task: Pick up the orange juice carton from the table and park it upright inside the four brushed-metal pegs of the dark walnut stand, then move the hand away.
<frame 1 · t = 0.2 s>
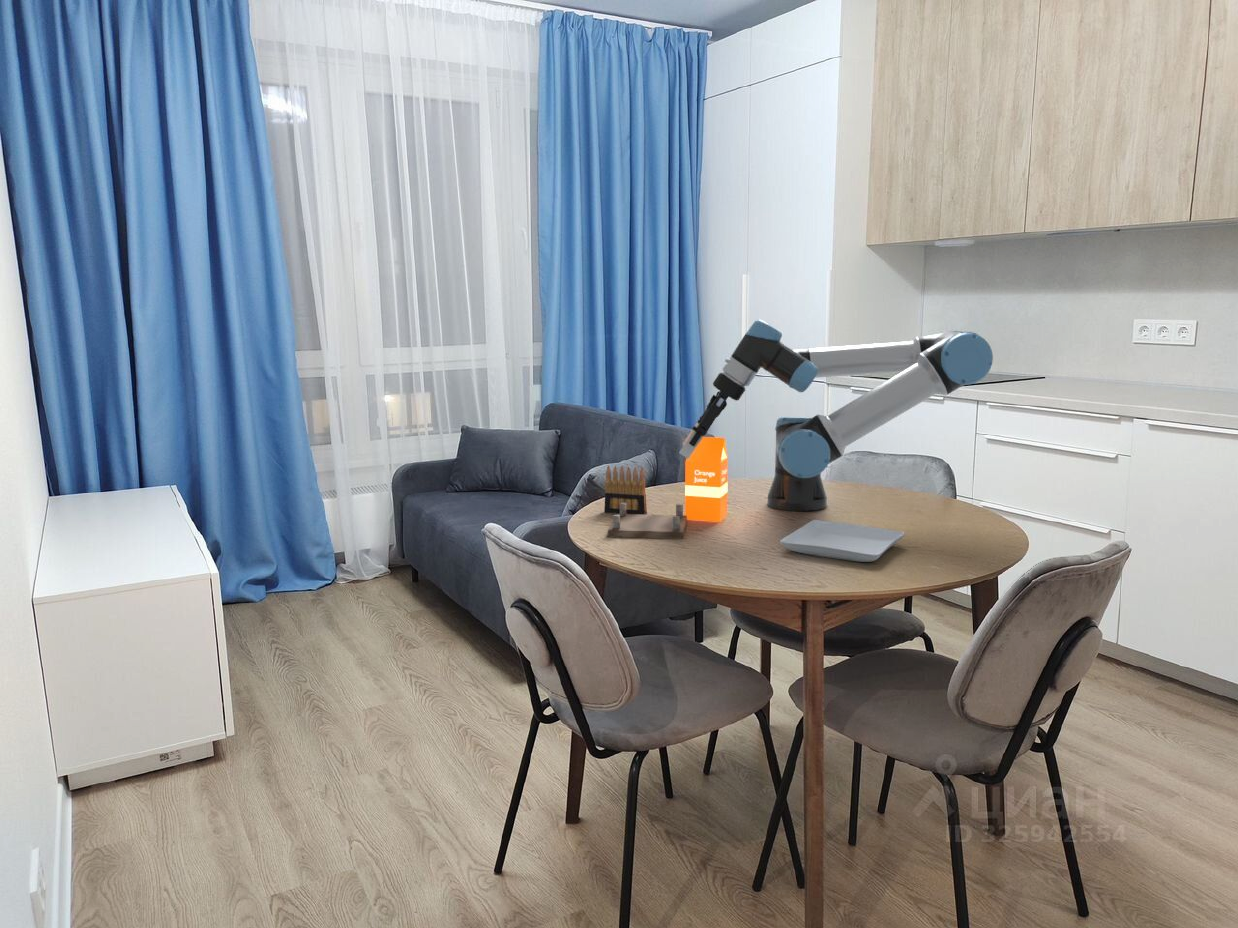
hand: (685, 451, 224), 16 cm above the table, tool tilted 35°, fingers open, 13 cm apart
ammunition clip: (625, 514, 229), on the table
peg stand: (648, 528, 213), on the table
salad plate: (842, 551, 195), on the table
orange juice: (706, 518, 224), on the table
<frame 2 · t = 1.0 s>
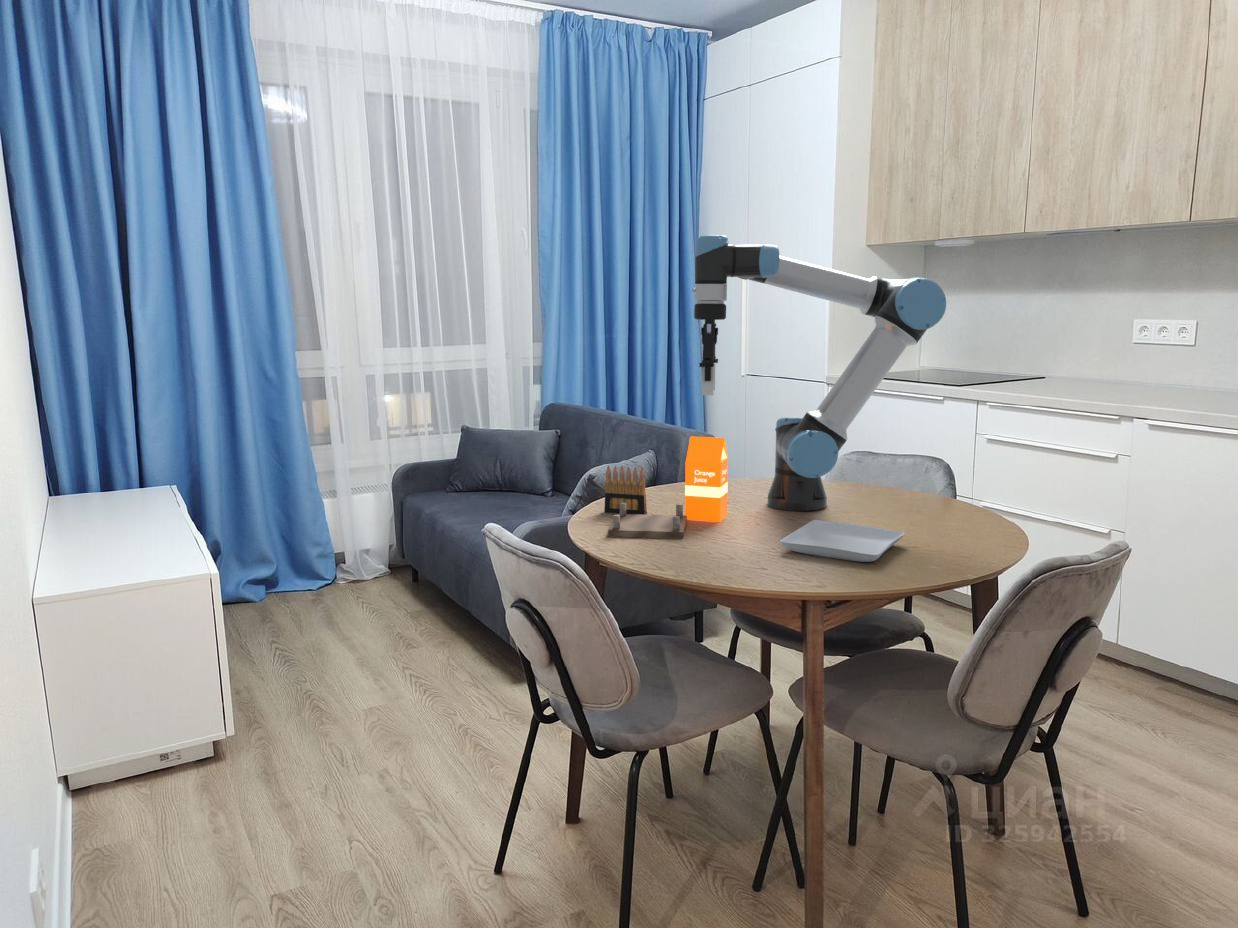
hand: (708, 392, 218), 31 cm above the table, tool pointing down, fingers open, 13 cm apart
nothing on the table moved.
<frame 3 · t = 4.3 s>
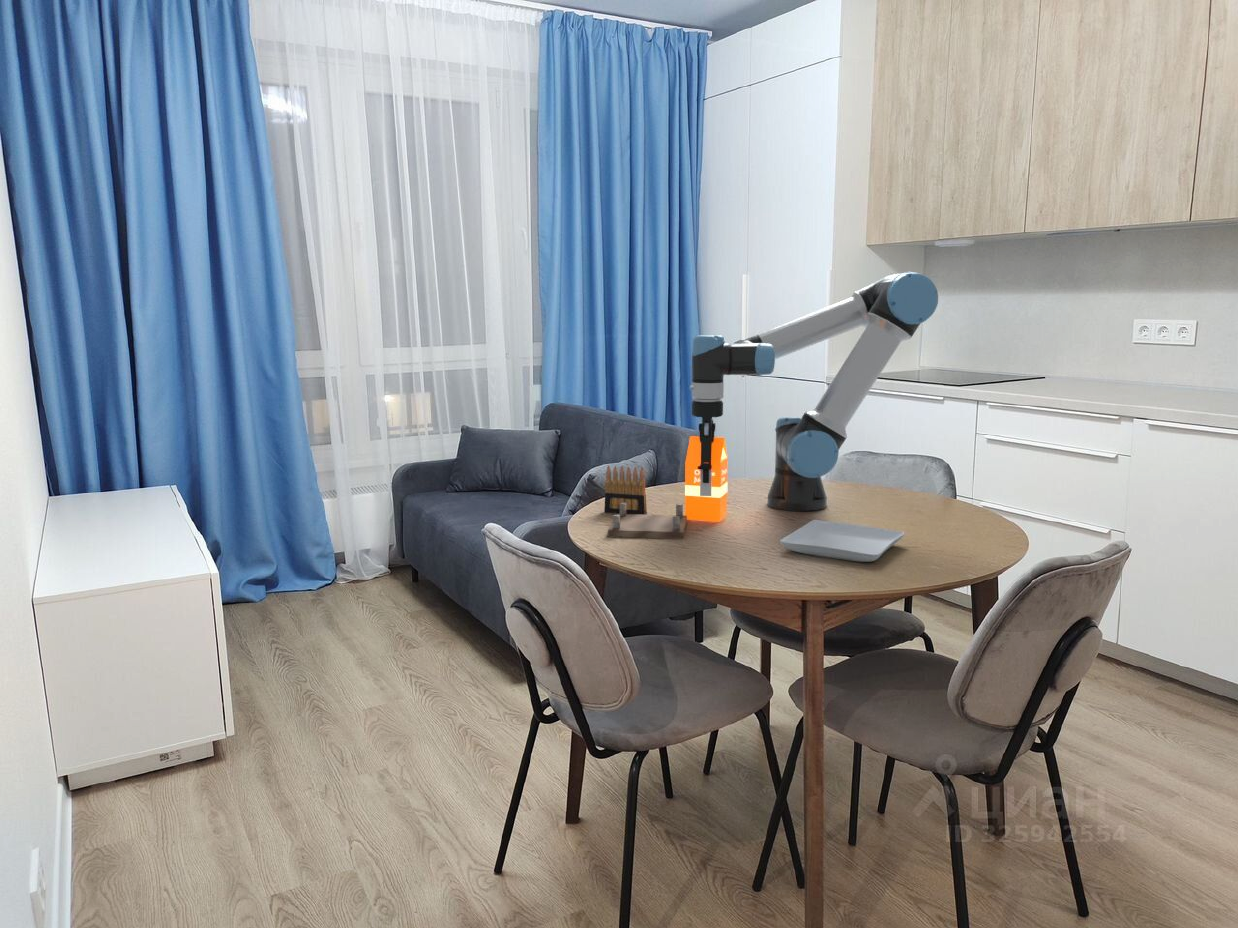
hand: (706, 491, 222), 6 cm above the table, tool pointing down, fingers closed on orange juice, 9 cm apart
orange juice: (706, 518, 224), on the table, touching gripper
everything else where it was.
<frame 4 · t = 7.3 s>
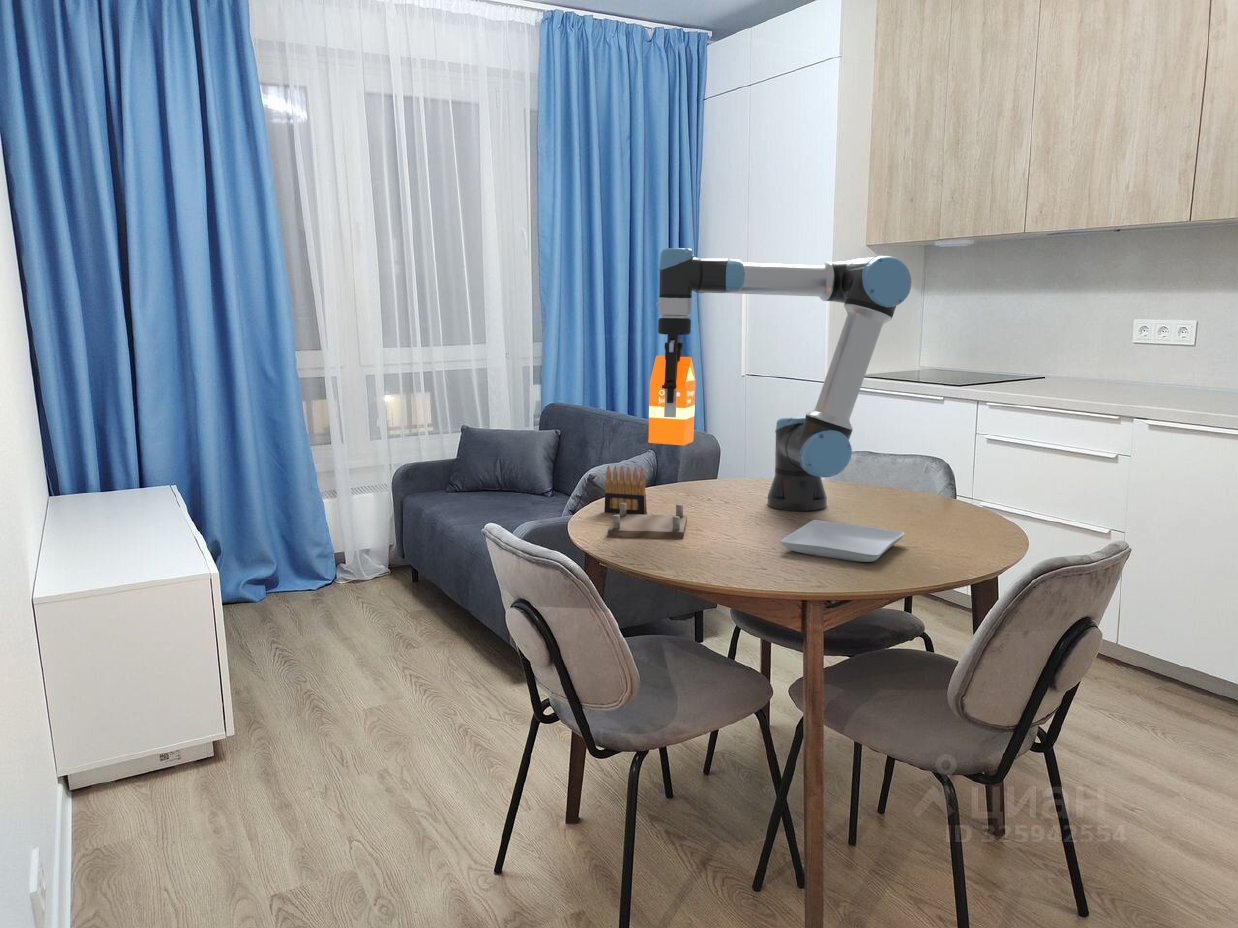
hand: (671, 414, 213), 26 cm above the table, tool pointing down, fingers closed on orange juice, 9 cm apart
orange juice: (671, 442, 214), point 20 cm above the table, touching gripper
everything else where it was.
when the fingers open (9 cm above the table, at t = 10.5 s): orange juice stays where it is, resting on peg stand.
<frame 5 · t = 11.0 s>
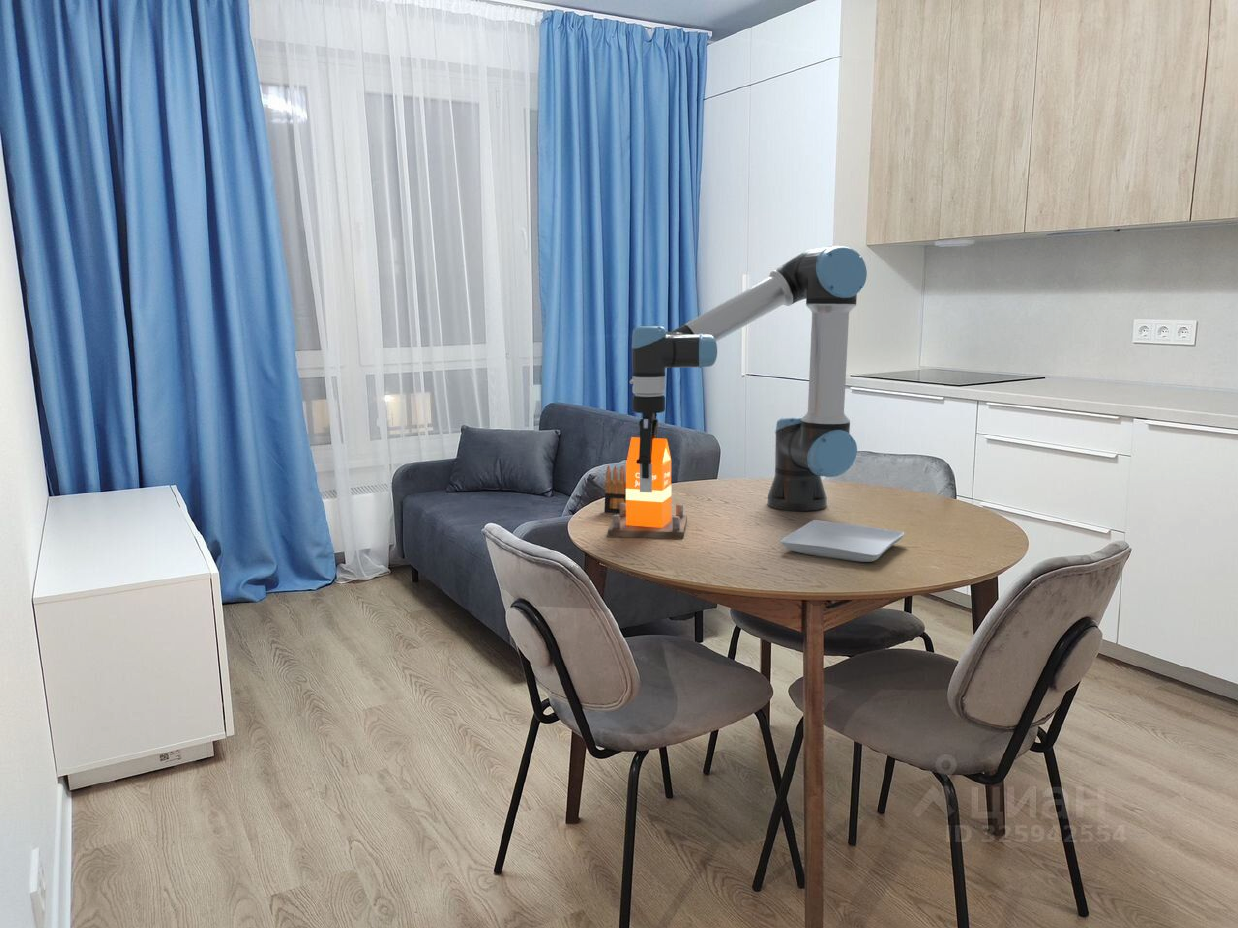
hand: (648, 486, 211), 10 cm above the table, tool pointing down, fingers open, 13 cm apart
orange juice: (648, 523, 212), point 1 cm above the table, touching peg stand
everything else where it was.
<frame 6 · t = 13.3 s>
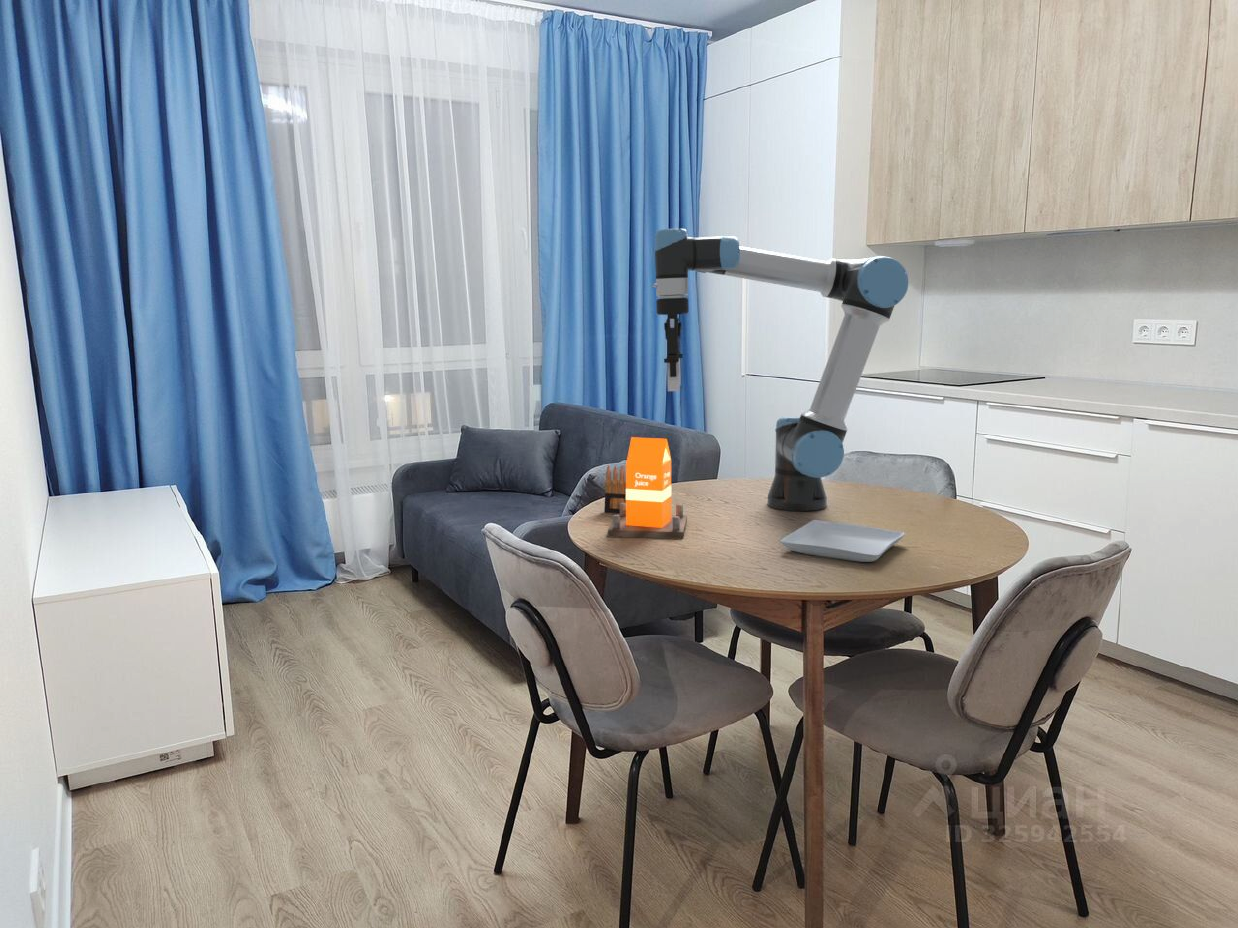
hand: (674, 388, 216), 32 cm above the table, tool pointing down, fingers open, 13 cm apart
nothing on the table moved.
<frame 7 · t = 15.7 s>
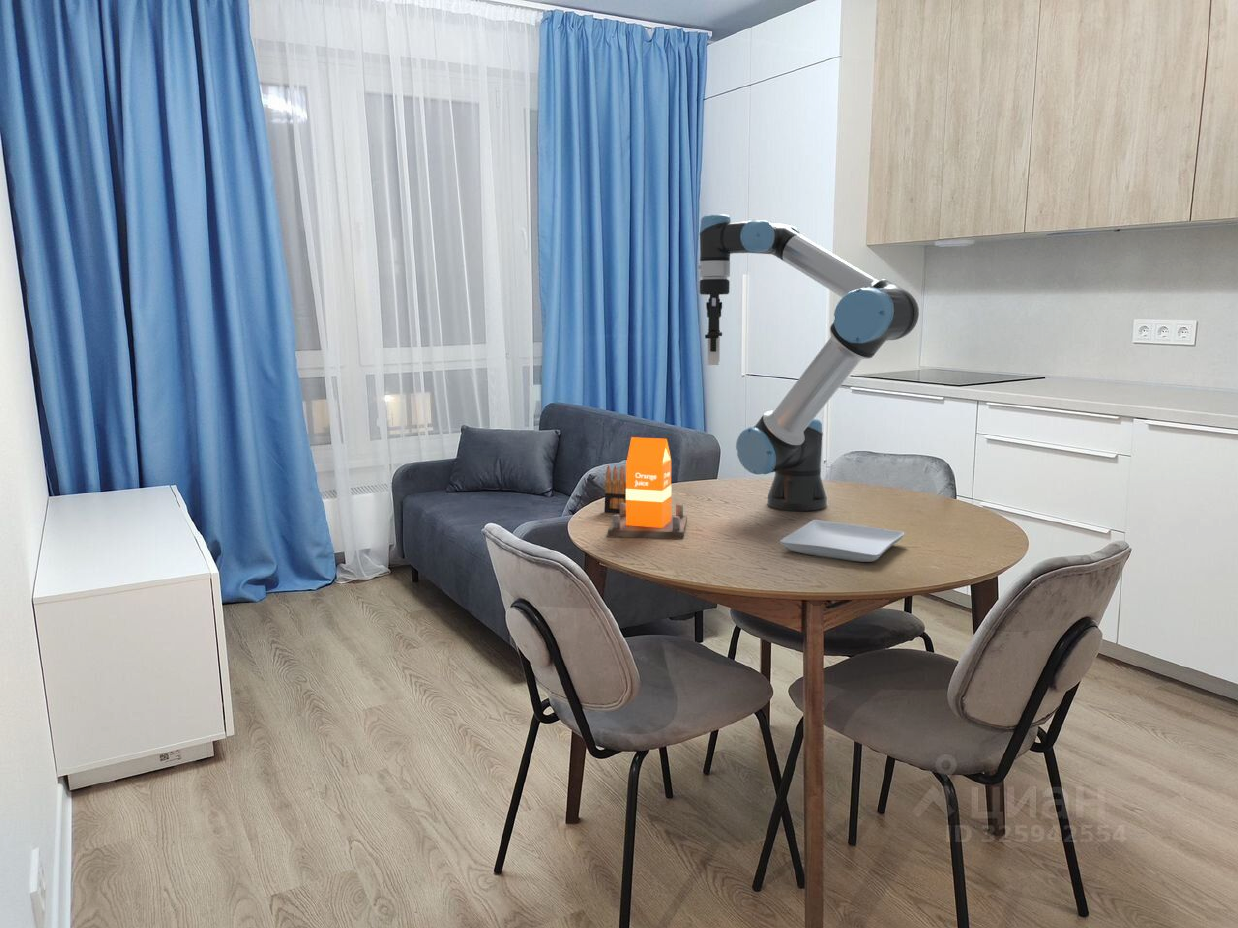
hand: (713, 363, 233), 37 cm above the table, tool pointing down, fingers open, 13 cm apart
nothing on the table moved.
at the end: orange juice 0.0 cm off-centre on the peg stand, point 1.3 cm above the peg stand's base; orange juice tilted 0°; the gripper is holding nothing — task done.
